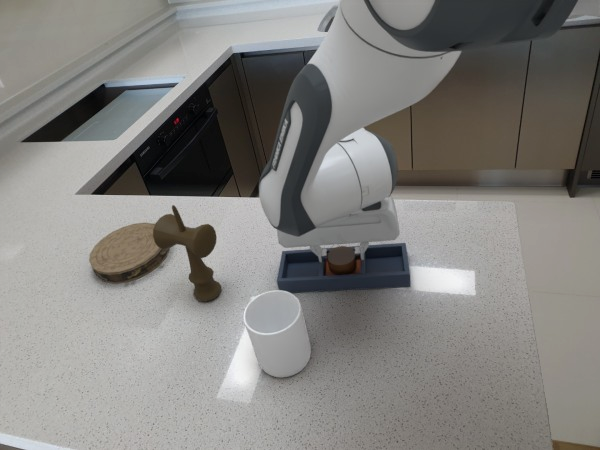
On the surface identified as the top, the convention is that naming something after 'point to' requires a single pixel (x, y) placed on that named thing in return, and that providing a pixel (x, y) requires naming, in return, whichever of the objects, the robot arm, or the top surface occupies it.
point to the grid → (368, 275)
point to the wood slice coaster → (127, 254)
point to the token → (341, 260)
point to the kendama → (190, 250)
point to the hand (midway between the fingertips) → (341, 258)
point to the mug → (278, 332)
